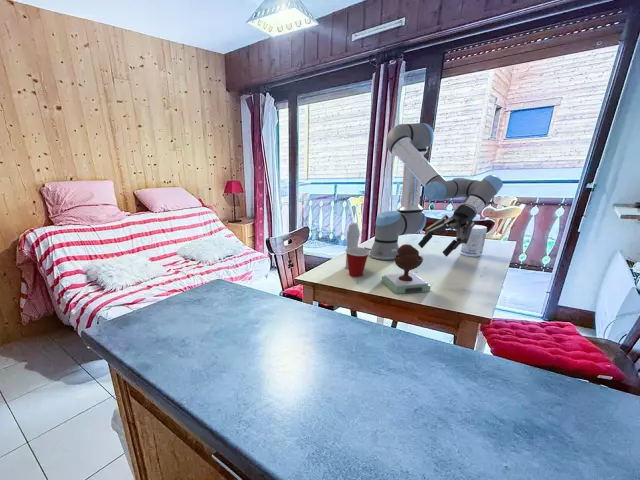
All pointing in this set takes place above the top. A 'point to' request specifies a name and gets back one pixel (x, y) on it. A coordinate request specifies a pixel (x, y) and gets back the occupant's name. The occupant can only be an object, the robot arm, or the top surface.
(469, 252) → the supplement tub
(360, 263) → the plastic cup
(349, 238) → the tall pale column
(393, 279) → the scale
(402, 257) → the ice cream bowl
